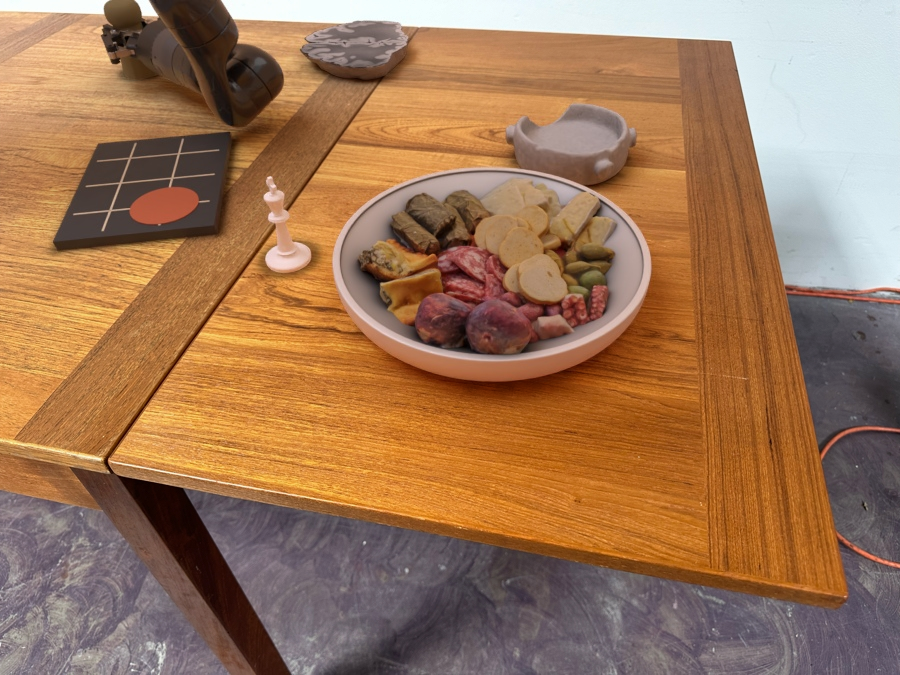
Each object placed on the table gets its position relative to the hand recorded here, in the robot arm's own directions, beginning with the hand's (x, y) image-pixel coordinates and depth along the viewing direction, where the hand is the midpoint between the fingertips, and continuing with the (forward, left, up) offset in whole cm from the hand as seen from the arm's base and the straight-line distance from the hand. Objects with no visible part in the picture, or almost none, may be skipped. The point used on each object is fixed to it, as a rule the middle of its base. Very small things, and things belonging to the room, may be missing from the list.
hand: (120, 27), depth 103 cm
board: (+9, -39, -6) cm, 41 cm away
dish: (+61, -42, -7) cm, 74 cm away
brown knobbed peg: (+2, -2, -7) cm, 7 cm away
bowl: (+46, -64, -7) cm, 79 cm away
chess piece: (+26, -56, -7) cm, 62 cm away
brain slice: (+36, -4, -7) cm, 37 cm away
